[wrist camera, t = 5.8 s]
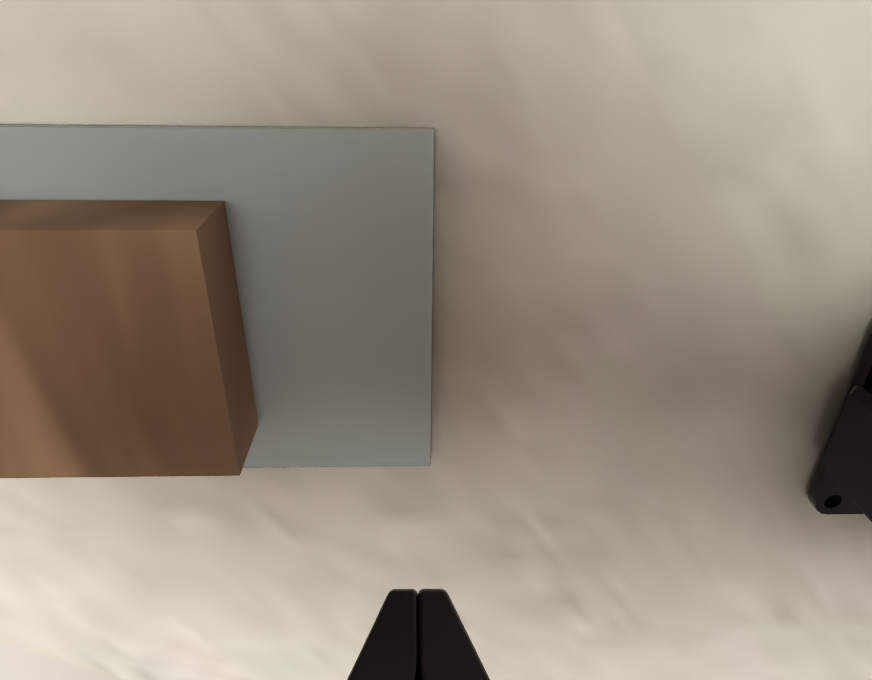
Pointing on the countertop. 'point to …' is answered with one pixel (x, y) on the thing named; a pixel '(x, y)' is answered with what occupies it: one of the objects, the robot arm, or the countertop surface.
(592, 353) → the countertop surface
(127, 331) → the walnut tile
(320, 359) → the rubber mat
